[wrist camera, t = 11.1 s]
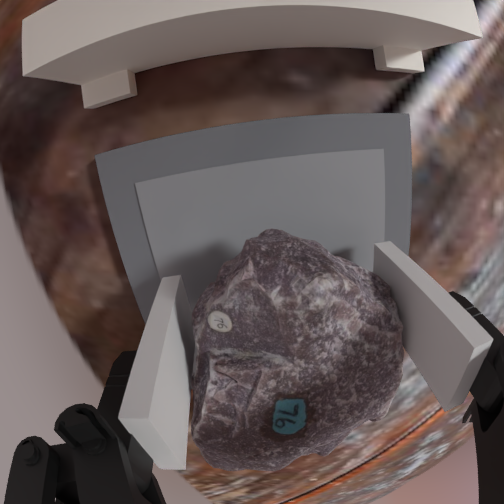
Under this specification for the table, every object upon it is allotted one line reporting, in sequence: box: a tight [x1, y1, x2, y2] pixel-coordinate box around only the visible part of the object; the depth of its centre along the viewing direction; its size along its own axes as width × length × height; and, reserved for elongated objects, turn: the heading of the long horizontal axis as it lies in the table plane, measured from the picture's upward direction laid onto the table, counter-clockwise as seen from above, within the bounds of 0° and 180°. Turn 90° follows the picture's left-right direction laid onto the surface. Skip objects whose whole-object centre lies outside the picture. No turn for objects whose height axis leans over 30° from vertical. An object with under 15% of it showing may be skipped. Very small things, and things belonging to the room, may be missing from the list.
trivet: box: [95, 113, 412, 389], centre depth 13 cm, size 13×13×1 cm
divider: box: [22, 0, 483, 109], centre depth 7 cm, size 4×14×5 cm, turn 98°
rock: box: [191, 228, 404, 471], centre depth 11 cm, size 8×11×5 cm
